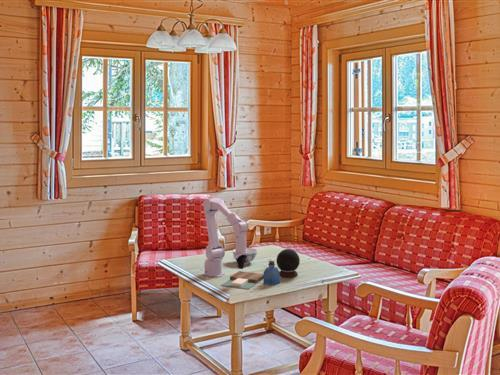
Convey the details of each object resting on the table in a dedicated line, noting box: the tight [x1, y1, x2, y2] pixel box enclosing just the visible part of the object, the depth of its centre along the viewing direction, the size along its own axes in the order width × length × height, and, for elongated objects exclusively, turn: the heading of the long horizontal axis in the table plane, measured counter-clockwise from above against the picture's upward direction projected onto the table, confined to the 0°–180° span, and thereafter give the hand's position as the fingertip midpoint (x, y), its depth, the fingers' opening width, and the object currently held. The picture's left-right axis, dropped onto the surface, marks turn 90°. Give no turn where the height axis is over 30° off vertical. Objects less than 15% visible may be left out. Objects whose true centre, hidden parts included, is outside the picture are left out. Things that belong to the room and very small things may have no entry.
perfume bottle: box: [262, 260, 281, 286], centre depth 300 cm, size 6×6×12 cm
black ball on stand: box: [275, 248, 301, 279], centre depth 315 cm, size 13×13×15 cm
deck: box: [229, 270, 264, 285], centre depth 308 cm, size 16×12×2 cm
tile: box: [231, 278, 248, 287], centre depth 298 cm, size 6×9×2 cm, turn 157°
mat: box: [220, 279, 257, 290], centre depth 297 cm, size 16×10×1 cm, turn 67°
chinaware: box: [232, 247, 258, 265], centre depth 341 cm, size 15×15×8 cm
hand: (240, 268), depth 299 cm, fingers closed
